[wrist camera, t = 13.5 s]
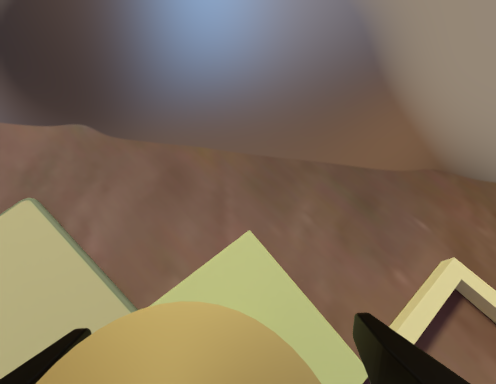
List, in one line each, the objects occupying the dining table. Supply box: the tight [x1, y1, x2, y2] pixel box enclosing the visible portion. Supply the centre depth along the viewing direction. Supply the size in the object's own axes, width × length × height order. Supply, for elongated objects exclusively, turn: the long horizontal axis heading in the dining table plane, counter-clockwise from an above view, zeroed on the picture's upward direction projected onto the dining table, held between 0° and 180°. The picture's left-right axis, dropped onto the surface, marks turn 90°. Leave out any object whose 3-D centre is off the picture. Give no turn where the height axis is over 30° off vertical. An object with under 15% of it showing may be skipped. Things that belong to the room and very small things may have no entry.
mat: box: [149, 230, 368, 384], centre depth 14 cm, size 11×11×1 cm
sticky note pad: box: [0, 198, 138, 379], centre depth 15 cm, size 8×1×15 cm
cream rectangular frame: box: [389, 258, 496, 344], centre depth 13 cm, size 8×8×1 cm
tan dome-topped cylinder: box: [36, 301, 321, 384], centre depth 8 cm, size 4×4×13 cm
